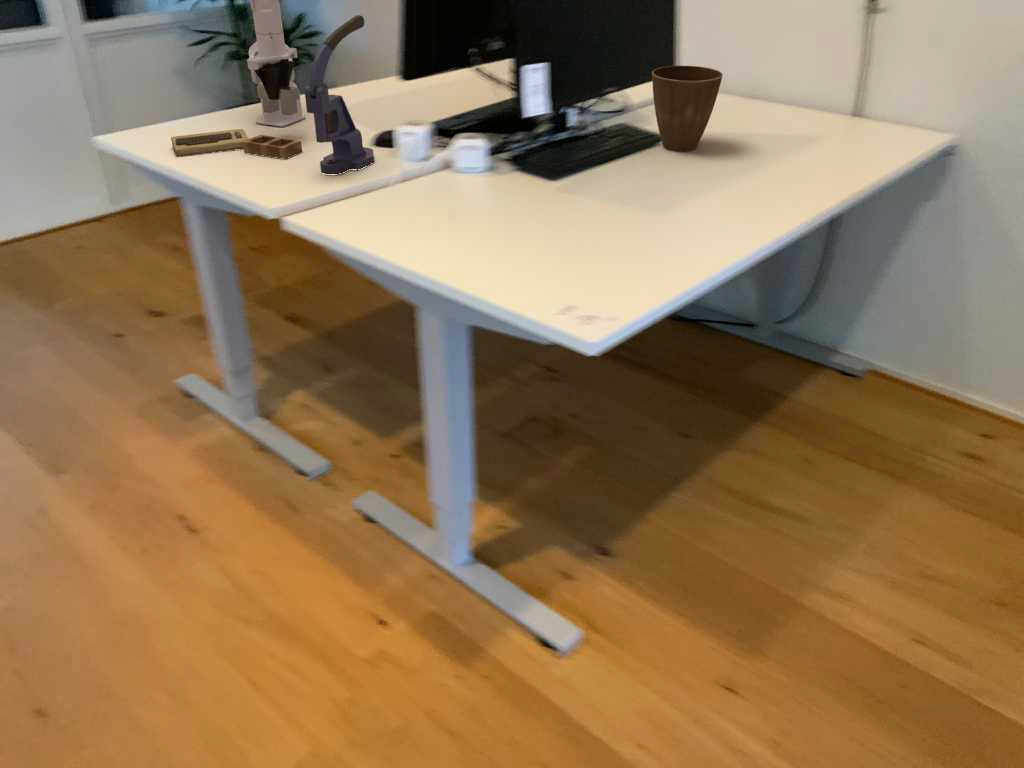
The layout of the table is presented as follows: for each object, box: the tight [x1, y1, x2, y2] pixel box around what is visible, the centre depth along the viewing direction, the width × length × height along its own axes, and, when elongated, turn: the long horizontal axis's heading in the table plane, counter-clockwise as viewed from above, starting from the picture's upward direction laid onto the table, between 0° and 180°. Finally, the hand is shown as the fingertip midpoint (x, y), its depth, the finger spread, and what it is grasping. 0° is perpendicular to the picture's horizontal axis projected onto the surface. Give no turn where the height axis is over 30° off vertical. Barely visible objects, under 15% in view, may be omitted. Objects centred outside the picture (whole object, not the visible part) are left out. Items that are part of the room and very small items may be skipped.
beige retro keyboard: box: [170, 128, 249, 158], centre depth 188 cm, size 16×8×3 cm, turn 115°
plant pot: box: [651, 65, 723, 152], centre depth 187 cm, size 15×15×16 cm
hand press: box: [304, 14, 375, 174], centre depth 172 cm, size 19×9×28 cm, turn 155°
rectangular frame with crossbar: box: [242, 134, 303, 160], centre depth 185 cm, size 6×11×2 cm, turn 65°
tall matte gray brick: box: [256, 84, 301, 115], centre depth 189 cm, size 3×9×6 cm, turn 65°
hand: (278, 97), depth 189 cm, fingers closed on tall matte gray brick, 3 cm apart
